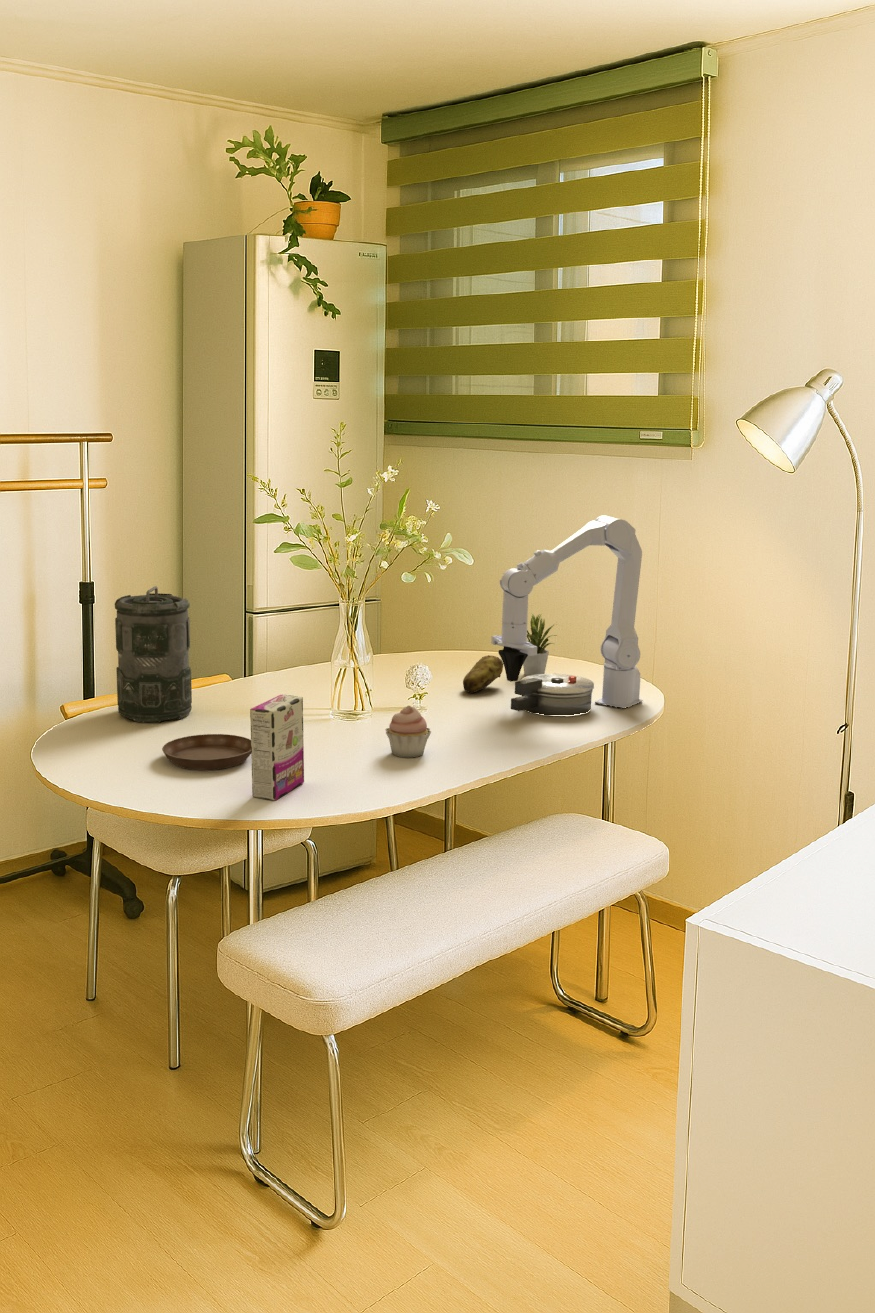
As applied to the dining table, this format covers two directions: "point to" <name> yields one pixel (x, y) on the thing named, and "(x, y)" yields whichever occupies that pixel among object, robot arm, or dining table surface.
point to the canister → (153, 657)
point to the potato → (483, 673)
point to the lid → (553, 684)
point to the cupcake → (408, 733)
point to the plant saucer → (208, 751)
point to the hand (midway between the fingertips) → (512, 680)
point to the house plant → (539, 661)
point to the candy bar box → (277, 747)
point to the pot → (553, 703)
